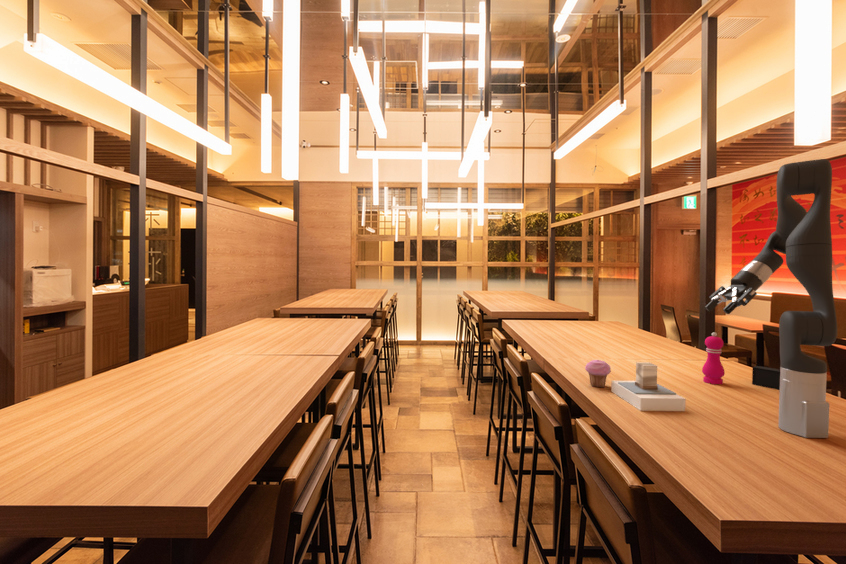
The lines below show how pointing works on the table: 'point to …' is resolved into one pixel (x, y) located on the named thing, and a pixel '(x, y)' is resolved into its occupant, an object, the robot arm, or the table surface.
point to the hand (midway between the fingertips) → (716, 310)
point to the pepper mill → (713, 360)
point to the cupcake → (598, 372)
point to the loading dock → (648, 397)
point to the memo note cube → (646, 376)
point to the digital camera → (766, 377)
